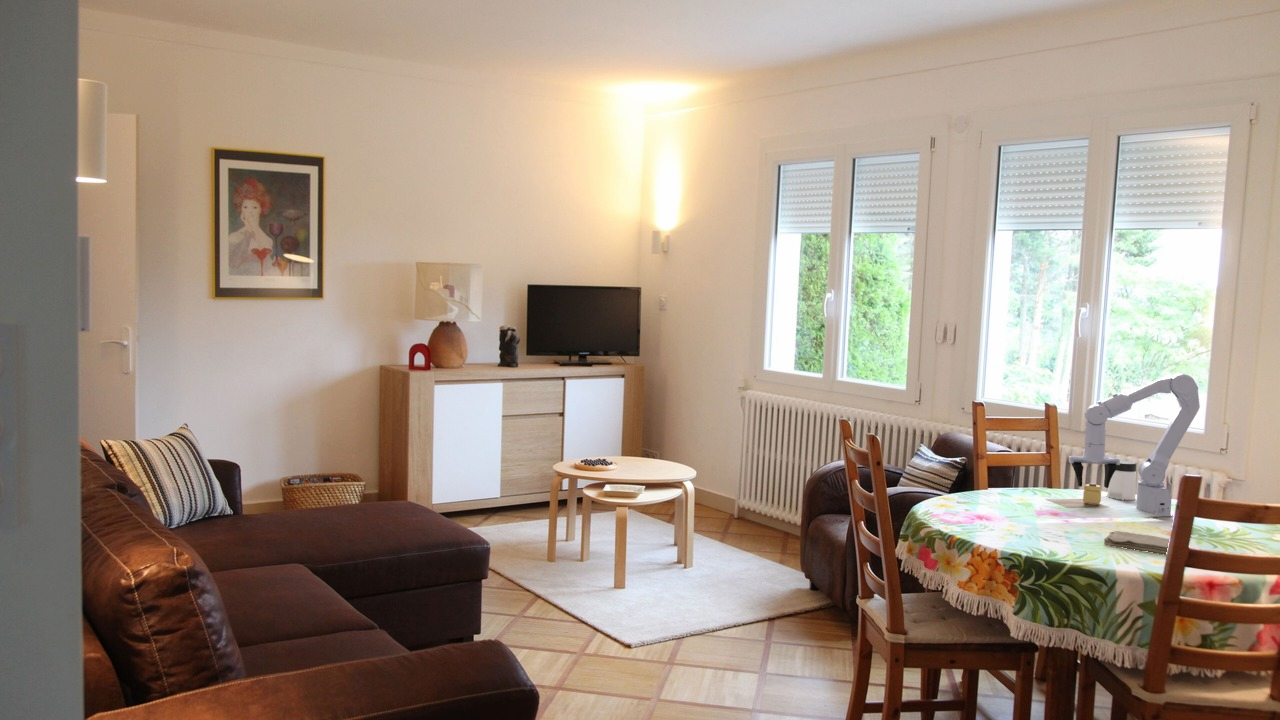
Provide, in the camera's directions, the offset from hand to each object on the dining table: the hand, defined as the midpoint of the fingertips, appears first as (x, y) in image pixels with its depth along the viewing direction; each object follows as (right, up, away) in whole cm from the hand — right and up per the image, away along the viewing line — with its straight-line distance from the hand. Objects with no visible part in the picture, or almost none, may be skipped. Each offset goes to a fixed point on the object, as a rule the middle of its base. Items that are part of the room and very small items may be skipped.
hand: (1093, 486), depth 298 cm
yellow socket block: (0, -5, 0) cm, 5 cm away
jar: (+17, -6, +17) cm, 25 cm away
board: (-4, -7, +1) cm, 8 cm away
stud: (0, -6, 0) cm, 6 cm away
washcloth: (-8, -11, -46) cm, 48 cm away
